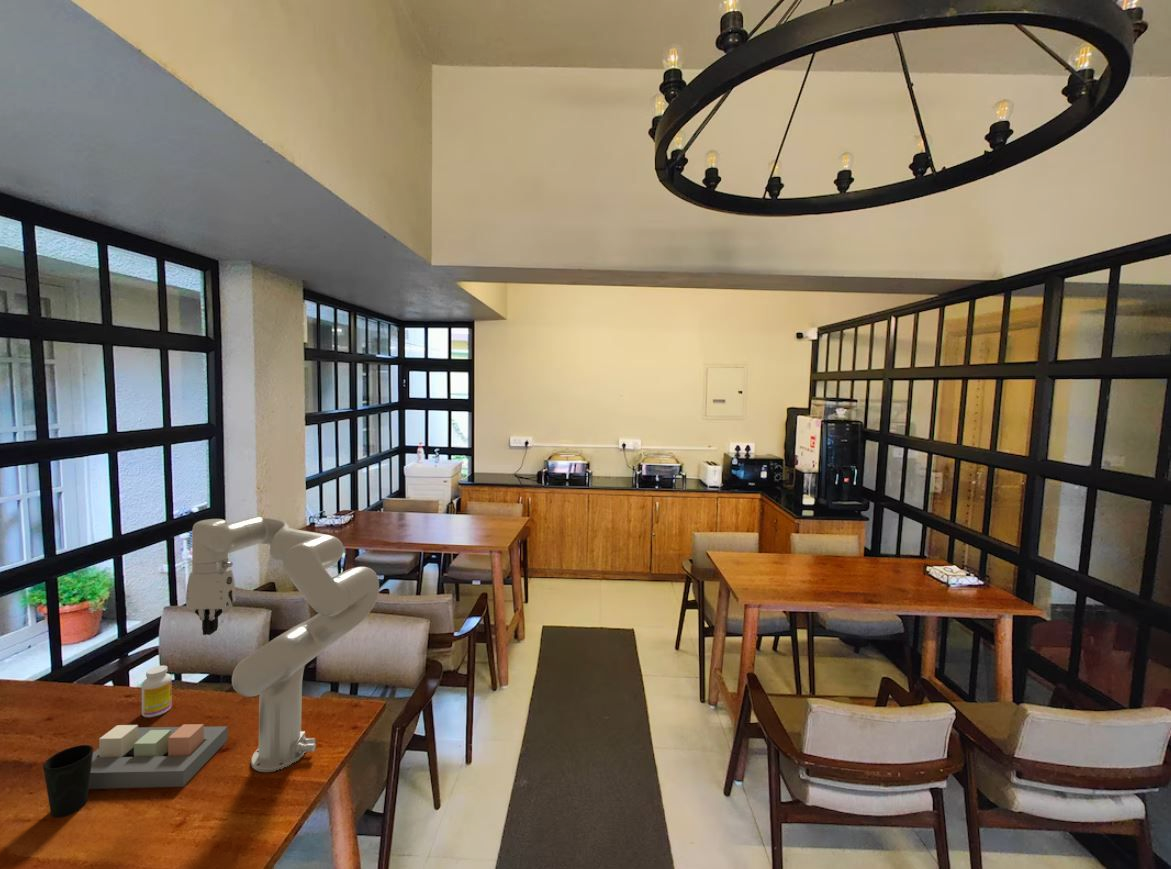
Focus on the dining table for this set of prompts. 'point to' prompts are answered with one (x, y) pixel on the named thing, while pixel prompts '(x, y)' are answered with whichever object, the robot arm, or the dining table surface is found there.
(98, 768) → the console
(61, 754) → the cup
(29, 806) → the dining table surface
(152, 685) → the supplement bottle
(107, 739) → the cream button
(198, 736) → the terracotta button
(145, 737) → the green button
